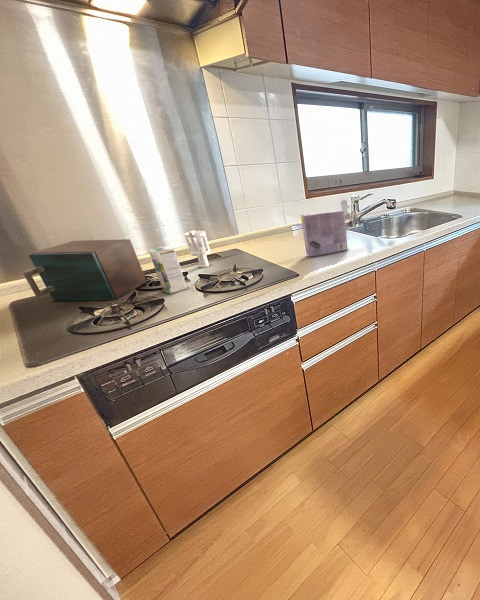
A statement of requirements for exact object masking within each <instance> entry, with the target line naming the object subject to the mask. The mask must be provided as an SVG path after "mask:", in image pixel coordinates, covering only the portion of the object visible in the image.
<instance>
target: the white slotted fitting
mask: <svg viewBox="0 0 480 600" xmlns="http://www.w3.org/2000/svg"><path fill="white" fill-rule="evenodd" d="M183 235H184V238H185V241H186V243H187V246H188V249H189V253H190V256H192V257H197V260H198V263H199V267H200V268H207V267H209V266H210V264H209V261H208V257H207V255H209V254H210V253H211V248H210V245H209V242H208V237H207V235H206V231H205V230H190V231H188V232H184V234H183Z"/></svg>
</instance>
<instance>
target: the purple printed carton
mask: <svg viewBox="0 0 480 600" xmlns="http://www.w3.org/2000/svg"><path fill="white" fill-rule="evenodd" d="M345 215H346V214H345V210H333V211H324V212H323V211H322V212H315V213H304V214H300V220H301V226H302V233H303V240H304V246H305V253H306V256H308V257H309V258H313V257H318V256H324V255H330V254H334V253H339V252H344V251H348V250H349V248H348V240H347V227H346V217H345Z"/></svg>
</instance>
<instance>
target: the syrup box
mask: <svg viewBox="0 0 480 600" xmlns="http://www.w3.org/2000/svg"><path fill="white" fill-rule="evenodd" d="M148 252H149V255H150V258H151V260H152V264H153V267H154V270H155V272H156V275H157V278H158V281H159V283H160V286H161V288H162V291H163V292H165V293H167V294H170V295H171V294H174V293H177V292H180V291H183V290H186V289H188V287H187V283H186V280H185V277H184V274H183V271H182V267H181V265H180V262H179V259H178V255H177V253H176V250H175V248H174V247H173V248H172V247H170V246H167V245H166V246H158V247H153V248H150V249H148Z"/></svg>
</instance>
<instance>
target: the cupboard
mask: <svg viewBox="0 0 480 600" xmlns="http://www.w3.org/2000/svg"><path fill="white" fill-rule="evenodd" d="M82 252H95V254H96V256H97V259H98V261H99V263H100V265H101V267H102V270H103V272H104V274H105V276H106V278H107V280H108V283H109V285H110V287H111V289H112V291H113V294H114V296H115V299H118V298H120V297H122V296H124V295H126V294H129V292H131V291H133V290H135V289H138V288H139V287H141V286H142V285H144V284H146V283H148V281H147V278H146V276H145V273H144V271H143V268H142V265H141V263H140V260H139V258H138V256H137V254H136V251H135V248H134V246H133V243H132V241H131V239H130V238H128V239H127V238H126V239H123V238H122V239H95V240H94V239H92V240H91V239H90V240H89V239H87V240H85V239H84V240H71V241H68V242H65V243H61V244H58V245H54V246H51V247H48V248H44V249H41V250H37V251H34V252H31V254H40V253H82Z"/></svg>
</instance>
